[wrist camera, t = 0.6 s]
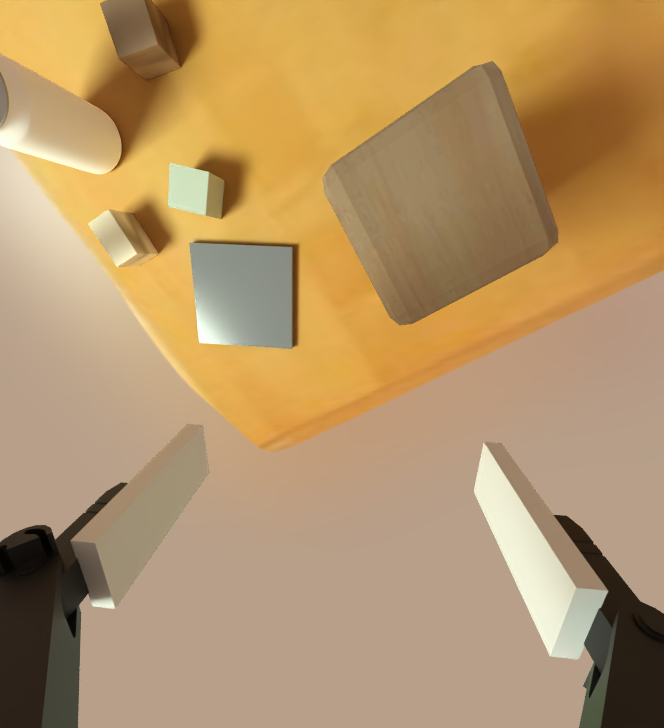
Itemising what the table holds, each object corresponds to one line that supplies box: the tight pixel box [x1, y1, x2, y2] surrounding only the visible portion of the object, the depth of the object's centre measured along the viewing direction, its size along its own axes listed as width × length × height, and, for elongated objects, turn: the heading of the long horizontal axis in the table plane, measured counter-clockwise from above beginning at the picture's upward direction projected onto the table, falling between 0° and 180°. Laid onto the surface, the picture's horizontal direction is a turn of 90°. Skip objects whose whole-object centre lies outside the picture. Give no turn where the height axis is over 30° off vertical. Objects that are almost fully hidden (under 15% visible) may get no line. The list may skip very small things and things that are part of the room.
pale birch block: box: [88, 209, 158, 267], centre depth 37 cm, size 5×3×4 cm, turn 28°
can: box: [0, 54, 122, 174], centre depth 30 cm, size 6×6×12 cm
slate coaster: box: [190, 243, 293, 349], centre depth 39 cm, size 12×12×1 cm
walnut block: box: [100, 0, 181, 80], centre depth 30 cm, size 4×4×4 cm
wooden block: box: [323, 61, 558, 325], centre depth 26 cm, size 10×10×20 cm
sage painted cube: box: [168, 163, 225, 219], centre depth 34 cm, size 4×4×4 cm
